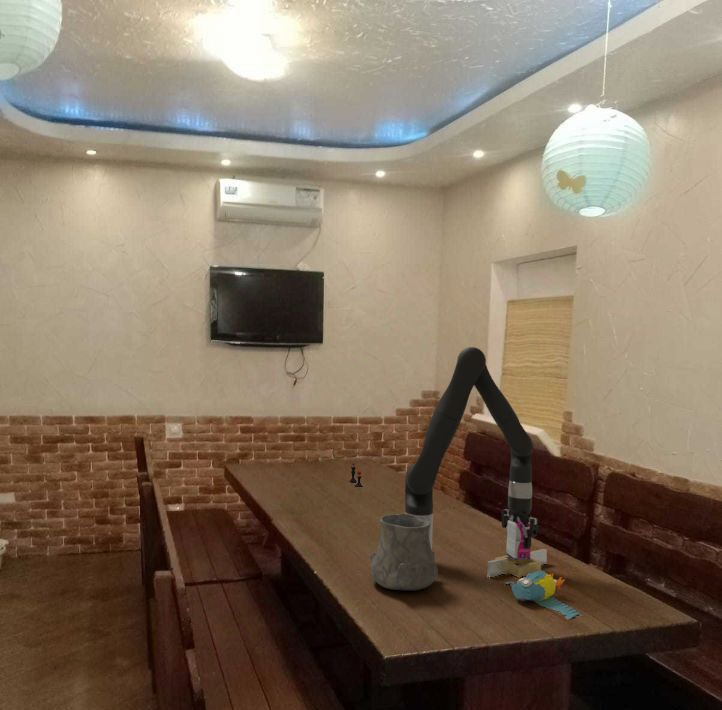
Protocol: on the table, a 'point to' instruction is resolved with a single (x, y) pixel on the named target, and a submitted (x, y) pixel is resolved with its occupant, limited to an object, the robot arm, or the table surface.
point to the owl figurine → (542, 592)
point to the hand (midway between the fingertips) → (518, 545)
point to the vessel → (404, 553)
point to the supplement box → (516, 542)
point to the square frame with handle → (509, 565)
